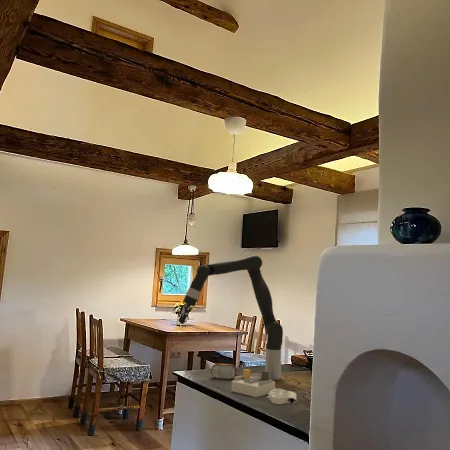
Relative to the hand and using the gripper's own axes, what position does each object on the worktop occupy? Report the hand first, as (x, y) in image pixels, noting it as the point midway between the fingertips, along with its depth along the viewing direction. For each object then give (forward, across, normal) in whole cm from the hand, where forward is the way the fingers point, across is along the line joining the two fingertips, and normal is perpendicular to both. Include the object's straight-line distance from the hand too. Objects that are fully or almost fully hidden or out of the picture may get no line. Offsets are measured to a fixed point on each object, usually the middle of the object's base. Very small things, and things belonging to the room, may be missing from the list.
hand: (180, 322), depth 260 cm
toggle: (+9, -30, -50) cm, 59 cm away
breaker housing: (+16, -30, -46) cm, 57 cm away
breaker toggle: (+12, -26, -41) cm, 50 cm away
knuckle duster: (+13, -45, -56) cm, 73 cm away
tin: (+20, 0, -36) cm, 42 cm away
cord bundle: (+13, -21, -54) cm, 59 cm away
